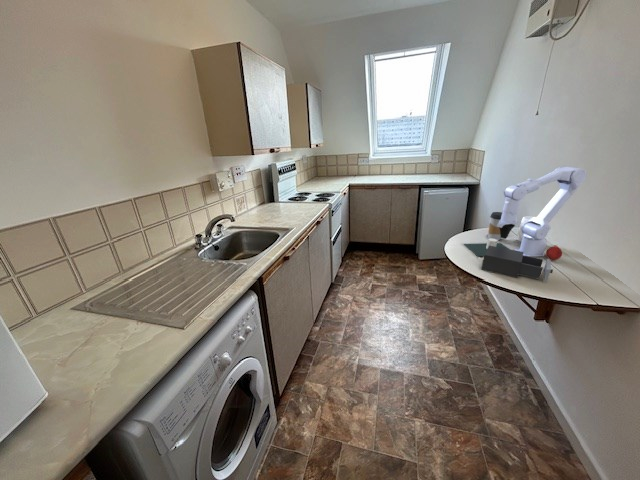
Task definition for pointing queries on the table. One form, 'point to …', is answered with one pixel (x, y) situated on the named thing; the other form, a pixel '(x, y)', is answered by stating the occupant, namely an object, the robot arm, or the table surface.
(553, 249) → the onion
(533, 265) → the drawer
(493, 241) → the container
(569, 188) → the robot arm
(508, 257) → the dark grey stepped box
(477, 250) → the mat
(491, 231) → the coffee cup
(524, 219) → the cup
